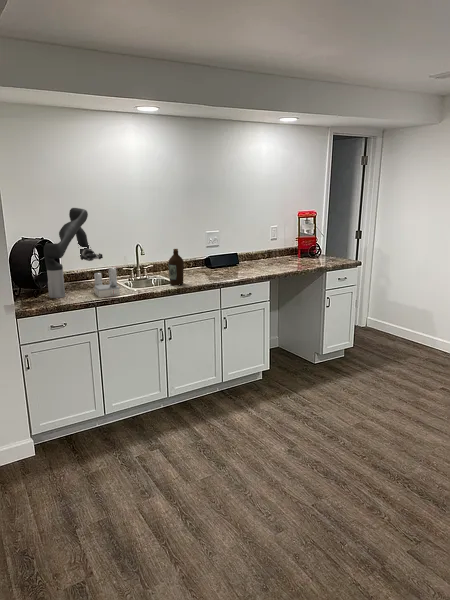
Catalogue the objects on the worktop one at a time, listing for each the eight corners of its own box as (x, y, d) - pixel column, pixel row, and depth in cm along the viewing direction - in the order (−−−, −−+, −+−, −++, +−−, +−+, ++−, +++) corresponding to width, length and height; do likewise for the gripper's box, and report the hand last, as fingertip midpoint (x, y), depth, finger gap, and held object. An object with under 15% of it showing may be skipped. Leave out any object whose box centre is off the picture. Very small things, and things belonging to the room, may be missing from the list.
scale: (99, 297, 282) (99, 289, 281) (94, 293, 293) (94, 285, 292) (120, 295, 288) (119, 287, 287) (114, 291, 299) (114, 283, 298)
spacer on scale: (110, 287, 286) (109, 269, 283) (108, 286, 290) (107, 268, 287) (118, 287, 288) (116, 268, 285) (116, 285, 292) (114, 267, 289)
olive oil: (176, 282, 327) (175, 247, 321) (187, 284, 321) (186, 248, 314) (165, 284, 318) (164, 249, 312) (177, 286, 312) (176, 250, 306)
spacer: (96, 292, 296) (95, 274, 293) (94, 290, 300) (93, 273, 297) (103, 291, 298) (102, 273, 295) (101, 290, 302) (100, 272, 299)
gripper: (77, 250, 313) (82, 253, 299) (98, 248, 319) (103, 252, 305) (78, 260, 315) (83, 264, 301) (99, 259, 321) (104, 262, 307)
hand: (93, 258), depth 303 cm, fingers open, 8 cm apart
